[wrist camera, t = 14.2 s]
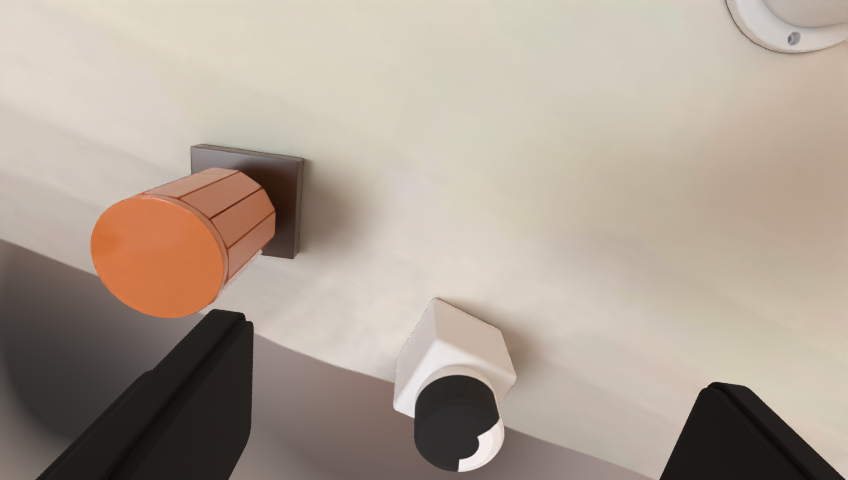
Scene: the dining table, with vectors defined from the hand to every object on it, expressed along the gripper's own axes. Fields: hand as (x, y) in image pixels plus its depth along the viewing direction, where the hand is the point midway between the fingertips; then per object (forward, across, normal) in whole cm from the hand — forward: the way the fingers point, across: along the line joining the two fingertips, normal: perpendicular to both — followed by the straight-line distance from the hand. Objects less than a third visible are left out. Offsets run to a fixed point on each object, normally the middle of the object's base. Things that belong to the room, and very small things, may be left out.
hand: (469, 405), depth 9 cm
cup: (+22, +15, +5) cm, 27 cm away
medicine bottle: (+27, -3, +16) cm, 31 cm away
